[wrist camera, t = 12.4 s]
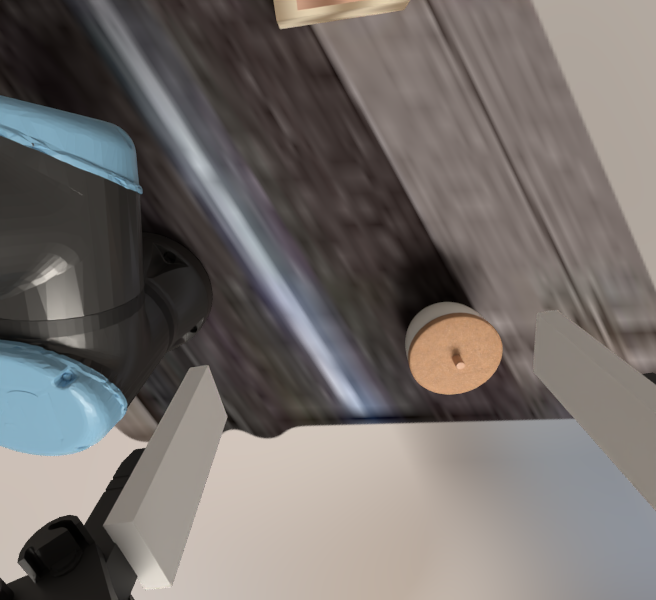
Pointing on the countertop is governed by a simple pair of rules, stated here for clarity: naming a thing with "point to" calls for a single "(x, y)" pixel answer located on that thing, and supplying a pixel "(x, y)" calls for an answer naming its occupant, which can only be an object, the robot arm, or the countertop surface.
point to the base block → (330, 10)
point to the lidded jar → (452, 348)
